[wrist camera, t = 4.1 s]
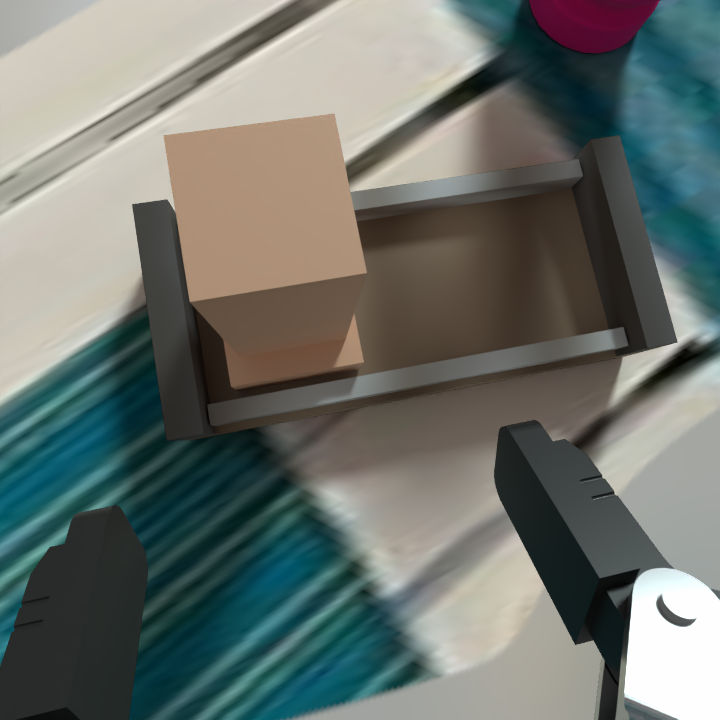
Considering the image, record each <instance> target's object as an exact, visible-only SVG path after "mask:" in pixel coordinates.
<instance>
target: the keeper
mask: <svg viewBox="0 0 720 720" xmlns="http://www.w3.org/2000/svg"><path fill="white" fill-rule="evenodd" d="M164 141H165V148H166V154H167V160H168V167H169V173H170V179H171V186H172V192H173V198H174V205H175V211H176V218H177V224H178V230H179V237H180V243H181V249H182V256H183V262H184V269H185V275H186V281H187V288H188V294H189V300H190V303H191V304H192V305H193V306H194V307H195V308H196V309H197V311H198V312H199V313H200V314H201V315H202V316H203V317H204V318H205V319H206V321H207V322H208V323H209V324H210V325H211V326H212V327H213V328H214V329H215V330H216V332H217V333H218V334H219V335H220V336H221V337H222V338H223V341H224V348H225V354H226V360H227V366H228V372H229V378H230V384H231V387H232V388H234V389H235V390H237V391H244V390H249V389H255V388H260V387H266V386H271V385H277V384H282V383H287V382H293V381H298V380H304V379H309V378H314V377H320V376H325V375H331V374H336V373H342V372H347V371H352V370H358V369H360V368H361V366H362V364H363V363H364V360H363V355H362V350H361V345H360V340H359V335H358V330H357V325H356V320H355V315H354V312H355V309H356V306H357V303H358V299H359V296H360V293H361V290H362V287H363V284H364V281H365V277H366V274H367V271H366V266H365V261H364V256H363V251H362V246H361V242H360V237H359V232H358V227H357V222H356V217H355V212H354V207H353V202H352V198H351V193H350V188H349V183H348V178H347V173H346V168H345V163H344V158H343V154H342V149H341V144H340V139H339V134H338V129H337V124H336V119H335V114H328V115H320V116H313V117H305V118H297V119H289V120H281V121H274V122H266V123H258V124H250V125H242V126H234V127H227V128H219V129H211V130H203V131H195V132H188V133H180V134H172V135H164Z"/></svg>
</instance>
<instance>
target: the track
mask: <svg viewBox="0 0 720 720" xmlns="http://www.w3.org/2000/svg"><path fill="white" fill-rule="evenodd" d="M350 193H351V198H352V202H353V207H354V212H355V217H356V222H357V227H358V232H359V237H360V242H361V246H362V251H363V256H364V261H365V266H366V271H367V274H366V277H365V281H364V284H363V287H362V290H361V293H360V296H359V299H358V303H357V306H356V309H355V312H354V315H355V320H356V325H357V330H358V335H359V340H360V345H361V350H362V355H363V360H364V363H363V364H362V366H361V368H360V369H358V370H352V371H347V372H342V373H336V374H331V375H325V376H320V377H314V378H309V379H304V380H298V381H293V382H287V383H282V384H277V385H271V386H266V387H260V388H255V389H249V390H244V391H237V390H235V389H234V388H232V387H231V384H230V378H229V372H228V366H227V360H226V354H225V348H224V341H223V338H222V337H221V336H220V335H219V334H218V333H217V332H216V330H215V329H214V328H213V327H212V326H211V325H210V324H209V323H208V322H207V321H206V319H205V318H204V317H203V316H202V315H201V314H200V313H199V312H198V311H197V309H196V308H195V307H194V306H193V305H192V304H191V303H190V300H189V294H188V288H187V281H186V275H185V269H184V262H183V256H182V249H181V243H180V237H179V230H178V224H177V218H176V213H175V211H174V210H173V208H172V206H171V205H170V203H169V202H168V200H160V201H153V202H146V203H139V204H132V206H133V213H134V220H135V227H136V234H137V241H138V247H139V254H140V261H141V268H142V275H143V282H144V289H145V295H146V302H147V309H148V316H149V323H150V330H151V337H152V343H153V350H154V357H155V364H156V371H157V378H158V385H159V391H160V398H161V405H162V412H163V419H164V426H165V433H166V440H167V441H170V440H195V439H200V438H205V437H211V436H216V435H221V434H226V433H231V432H236V431H242V430H247V429H252V428H257V427H262V426H268V425H273V424H278V423H283V422H288V421H293V420H299V419H304V418H309V417H314V416H319V415H325V414H330V413H335V412H340V411H345V410H350V409H356V408H361V407H366V406H371V405H376V404H381V403H387V402H392V401H397V400H402V399H407V398H413V397H418V396H423V395H428V394H433V393H438V392H444V391H449V390H454V389H459V388H464V387H470V386H475V385H480V384H485V383H490V382H495V381H501V380H506V379H511V378H516V377H521V376H526V375H532V374H537V373H542V372H547V371H552V370H558V369H563V368H568V367H573V366H578V365H583V364H589V363H594V362H599V361H604V360H609V359H614V358H620V357H625V356H628V355H632V354H636V353H639V352H643V351H647V350H651V349H654V348H658V347H662V346H666V345H669V344H673V343H677V339H676V335H675V331H674V328H673V324H672V321H671V317H670V314H669V310H668V306H667V303H666V299H665V296H664V292H663V289H662V285H661V281H660V278H659V274H658V271H657V267H656V264H655V260H654V256H653V253H652V249H651V246H650V242H649V239H648V235H647V232H646V228H645V224H644V221H643V217H642V214H641V210H640V207H639V203H638V199H637V196H636V192H635V189H634V185H633V182H632V178H631V174H630V171H629V167H628V164H627V160H626V157H625V153H624V149H623V146H622V142H621V139H620V135H619V136H612V137H605V138H598V139H591V140H590V141H589V142H588V143H587V144H586V145H585V146H584V148H583V149H582V150H581V151H580V152H579V153H578V154H577V155H576V156H575V157H574V158H573V159H572V160H568V161H562V162H555V163H548V164H541V165H534V166H527V167H520V168H513V169H507V170H500V171H493V172H486V173H479V174H472V175H465V176H459V177H452V178H445V179H438V180H431V181H424V182H417V183H410V184H404V185H397V186H390V187H383V188H376V189H369V190H362V191H355V192H350Z"/></svg>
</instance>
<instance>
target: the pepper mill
mask: <svg viewBox="0 0 720 720" xmlns="http://www.w3.org/2000/svg"><path fill="white" fill-rule="evenodd" d="M659 1H660V0H529V2H530V6H531V10H532V13H533V15H534V17H535V19H536V20H537V22H538V24H539V26H540V27H541V28H542V29H543V30H544V31H545V32H546V33H547V34H548V35H549V36H550V38H552V39H553V40H555V41H556V42H558V43H559V44H561V45H563V46H564V47H567V48H570V49H573V50H576V51H579V52H582V53H603V52H608V51H612V50H615V49H617V48H619V47H621V46H623V45H624V44H626V43H627V42H628V41H629V40H630V39H632V38H633V36H634V35H635V34H636V33H637V31H638V30H639V29H640V28H641V26H642V25H643V24H644V23H645V21H646V20H647V19H648V18H649V16H650V15H651V14H652V13H653V11H654V10H655V8H656V6H657V5H658V3H659Z"/></svg>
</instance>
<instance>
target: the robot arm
mask: <svg viewBox="0 0 720 720" xmlns="http://www.w3.org/2000/svg"><path fill="white" fill-rule="evenodd" d="M494 479H495V485H496V489H497V492H498V495H499V498H500V500H501V502H502V504H503V506H504V508H505V510H506V512H507V514H508V516H509V518H510V520H511V522H512V523H513V525H514V527H515V529H516V531H517V533H518V535H519V537H520V539H521V541H522V543H523V545H524V547H525V549H526V551H527V552H528V554H529V556H530V558H531V560H532V562H533V564H534V566H535V568H536V570H537V572H538V574H539V576H540V578H541V580H542V581H543V583H544V585H545V587H546V589H547V591H548V593H549V595H550V597H551V599H552V601H553V603H554V605H555V607H556V609H557V610H558V612H559V614H560V616H561V618H562V620H563V622H564V624H565V626H566V628H567V630H568V632H569V634H570V636H571V637H572V640H573V641H574V643H575V645H576V644H581V643H585V642H588V641H592V640H594V642H595V644H596V646H597V648H598V649H599V651H600V653H601V655H602V658H601V663H600V672H599V680H598V689H597V696H596V706H595V714H594V720H720V591H717V590H714V589H710V588H708V587H707V586H706V585H705V584H703V583H702V582H701V581H699V580H697V579H696V578H694V577H692V576H691V575H688V574H687V573H684V572H681V571H678V570H675V569H674V568H673V567H672V566H671V565H670V564H669V563H668V562H667V561H666V560H665V559H664V557H663V556H662V555H661V553H660V552H659V551H658V549H657V548H656V547H655V545H654V544H653V543H652V541H651V540H650V539H649V537H648V536H647V535H646V534H645V532H644V531H643V529H642V528H641V527H640V525H639V524H638V522H637V521H636V520H635V518H634V517H633V516H632V514H631V513H630V512H629V510H628V509H627V508H626V506H625V505H624V504H623V503H622V501H621V500H620V498H619V497H618V496H616V495H615V494H614V490H613V489H612V488H611V486H610V485H609V484H608V482H607V481H606V480H605V479H603V478H602V474H601V473H600V471H599V470H598V469H597V467H596V466H595V465H594V463H593V462H592V461H591V459H590V458H589V457H588V455H587V454H585V453H584V452H583V451H581V450H580V449H578V448H577V447H575V446H574V445H573V444H571V443H570V442H568V441H567V440H566V439H563V440H558V441H554V442H553V441H552V440H551V438H550V437H549V435H548V434H547V432H546V431H545V430H544V428H543V427H542V425H541V424H540V423H539V422H538V421H536V420H532V421H527V422H522V423H517V424H513V425H508V426H503V427H501V428H500V430H499V435H498V443H497V452H496V461H495V469H494ZM147 576H148V567H147V559H146V554H145V551H144V548H143V546H142V544H141V543H140V541H139V539H138V537H137V535H136V534H135V532H134V530H133V528H132V527H131V525H130V523H129V521H128V520H127V518H126V516H125V514H124V513H123V511H122V509H121V508H120V507H119V506H117V505H115V506H110V507H105V508H100V509H95V510H91V511H86V512H81V513H77V514H76V515H75V516H74V517H73V519H72V521H71V524H70V527H69V530H68V534H67V538H66V541H65V544H63V545H58V546H53V547H50V548H49V549H48V551H47V552H46V553H45V555H44V556H43V558H42V559H41V560H40V562H39V563H38V565H37V566H36V567H35V569H34V570H33V572H32V573H31V575H30V578H29V581H28V584H27V587H26V590H25V593H24V596H23V599H22V602H21V603H22V608H19V611H18V614H17V618H16V621H15V624H14V628H15V629H14V632H12V633H11V636H10V639H9V642H8V645H7V648H6V651H5V654H4V657H3V660H2V663H1V667H0V720H129V714H130V706H131V698H132V691H133V683H134V676H135V668H136V661H137V653H138V645H139V638H140V630H141V623H142V615H143V608H144V600H145V592H146V585H147Z"/></svg>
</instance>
